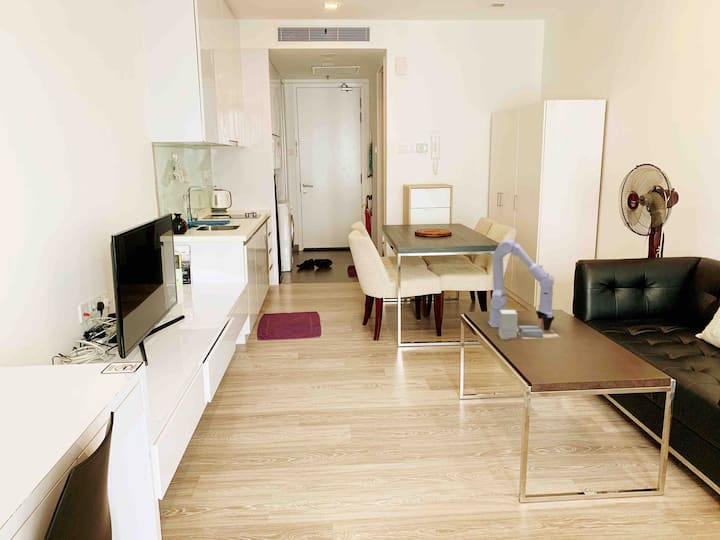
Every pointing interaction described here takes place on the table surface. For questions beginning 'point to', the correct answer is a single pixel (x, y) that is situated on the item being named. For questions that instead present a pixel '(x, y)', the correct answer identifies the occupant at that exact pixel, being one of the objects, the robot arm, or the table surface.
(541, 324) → the block
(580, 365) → the table surface
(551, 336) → the base board
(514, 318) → the supplement box
